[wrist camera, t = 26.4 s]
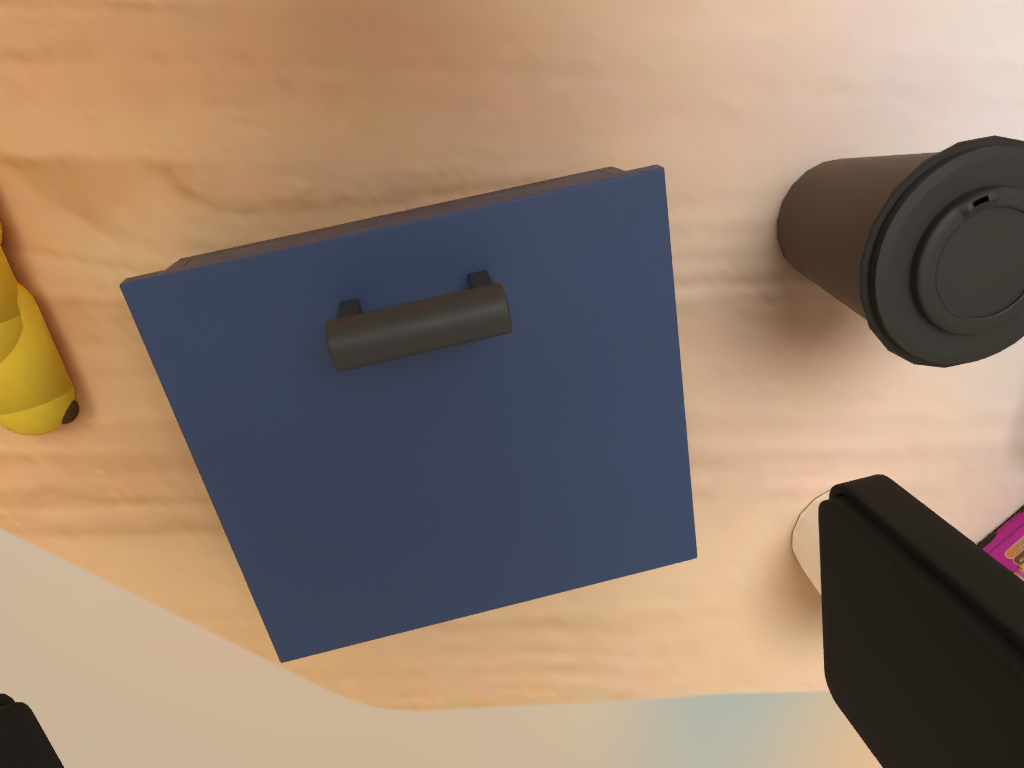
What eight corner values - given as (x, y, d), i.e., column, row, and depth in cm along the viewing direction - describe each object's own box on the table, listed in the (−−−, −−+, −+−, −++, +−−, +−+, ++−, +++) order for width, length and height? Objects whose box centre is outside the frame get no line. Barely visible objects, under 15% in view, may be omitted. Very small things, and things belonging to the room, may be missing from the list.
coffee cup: (833, 86, 32) (1009, 82, 23) (949, 197, 35) (1150, 233, 26) (712, 242, 34) (831, 297, 25) (832, 337, 37) (980, 419, 27)
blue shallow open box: (179, 258, 31) (142, 286, 26) (612, 166, 32) (648, 177, 28) (296, 583, 37) (282, 651, 33) (656, 494, 38) (691, 548, 34)
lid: (124, 278, 25) (73, 327, 21) (657, 163, 26) (711, 188, 22) (282, 651, 32) (268, 743, 28) (691, 548, 34) (737, 622, 30)
